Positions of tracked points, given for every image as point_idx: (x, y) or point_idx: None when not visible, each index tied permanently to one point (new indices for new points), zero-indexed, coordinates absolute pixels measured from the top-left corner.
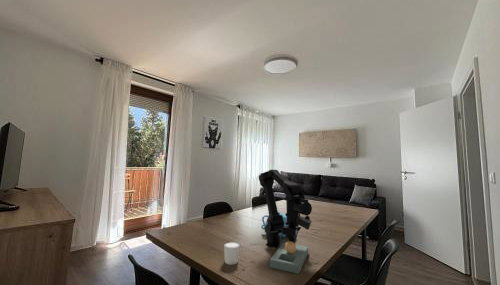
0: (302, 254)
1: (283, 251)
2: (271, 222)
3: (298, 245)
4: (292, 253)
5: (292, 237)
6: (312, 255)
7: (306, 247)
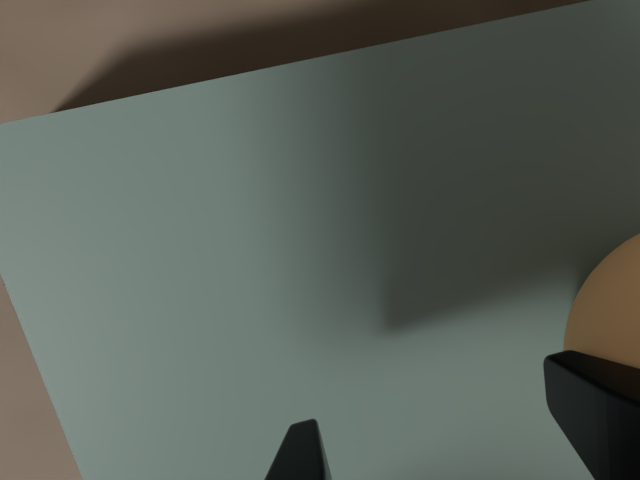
0: (568, 49)
1: None
2: None
3: (61, 377)
4: None
5: None
6: (58, 5)
7: (27, 152)
